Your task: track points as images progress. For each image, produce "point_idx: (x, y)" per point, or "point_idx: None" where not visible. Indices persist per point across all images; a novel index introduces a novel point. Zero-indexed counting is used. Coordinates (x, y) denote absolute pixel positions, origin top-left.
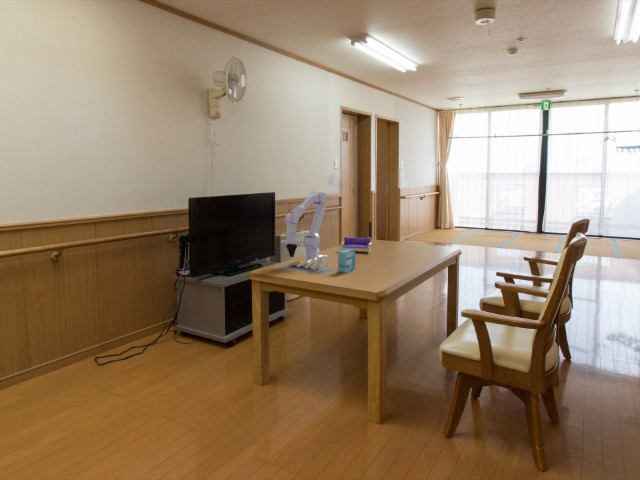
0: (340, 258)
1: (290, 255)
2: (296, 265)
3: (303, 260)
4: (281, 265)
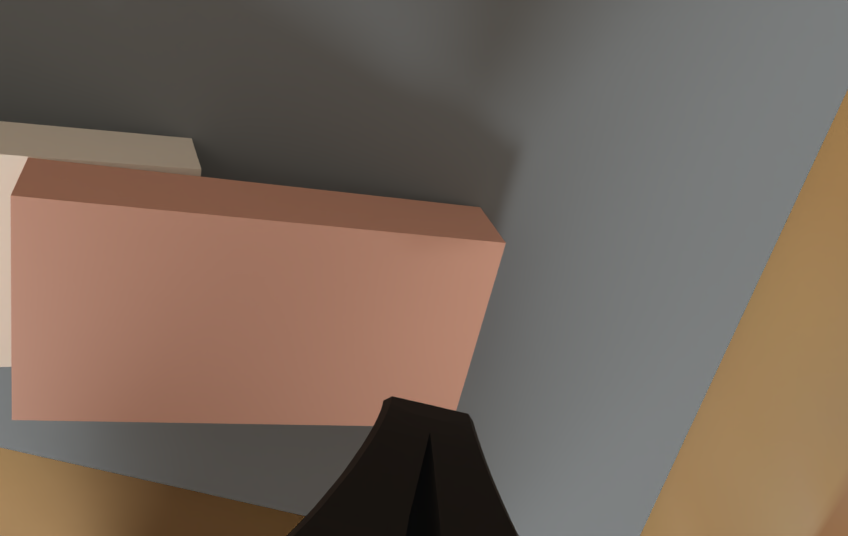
0: None
1: (436, 433)
2: None
3: (18, 375)
4: (737, 252)
